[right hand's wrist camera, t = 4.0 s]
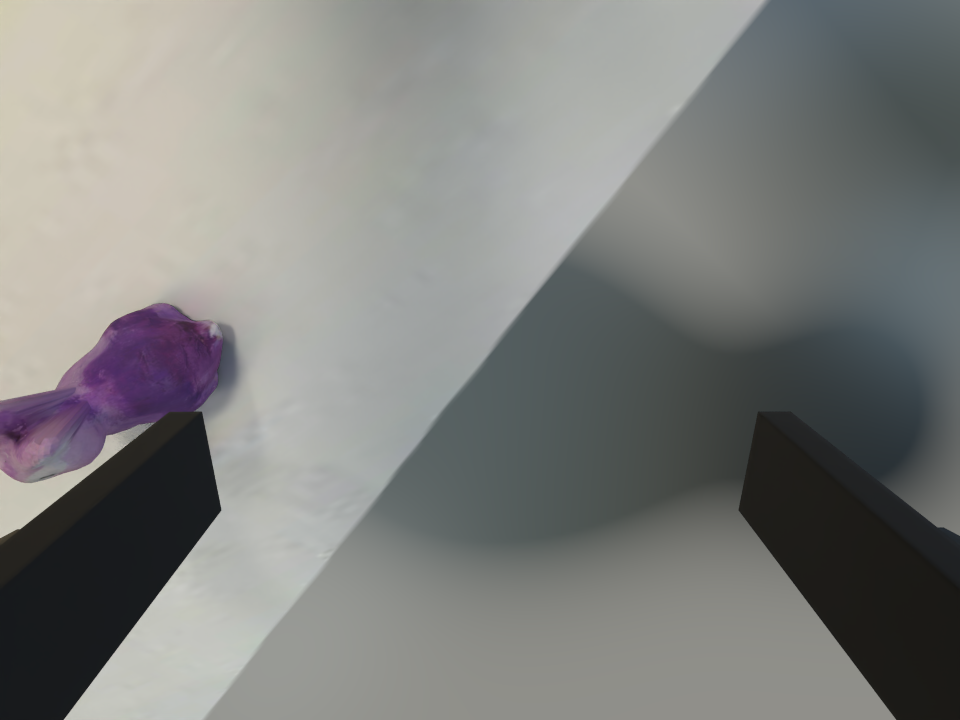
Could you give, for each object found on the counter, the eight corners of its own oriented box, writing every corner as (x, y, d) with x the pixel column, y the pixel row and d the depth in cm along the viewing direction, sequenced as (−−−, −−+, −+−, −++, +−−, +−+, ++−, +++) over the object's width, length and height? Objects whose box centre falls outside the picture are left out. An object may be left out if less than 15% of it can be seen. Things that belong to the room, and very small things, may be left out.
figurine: (107, 408, 43) (-75, 527, 29) (106, 287, 40) (-101, 354, 25) (225, 432, 44) (104, 559, 30) (234, 315, 40) (102, 395, 26)
